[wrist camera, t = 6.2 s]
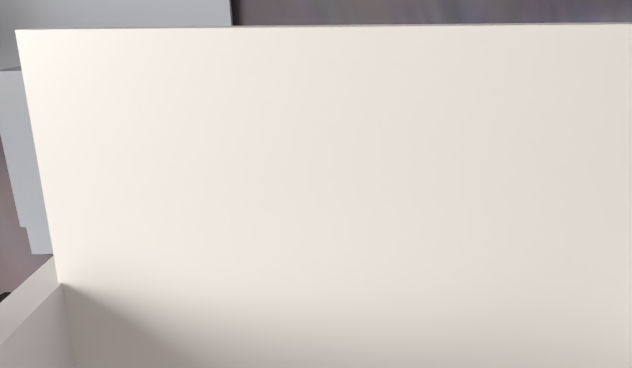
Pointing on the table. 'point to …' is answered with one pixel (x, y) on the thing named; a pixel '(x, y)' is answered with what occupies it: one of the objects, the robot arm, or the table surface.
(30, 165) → the stand
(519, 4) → the table surface
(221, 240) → the white flat square block
